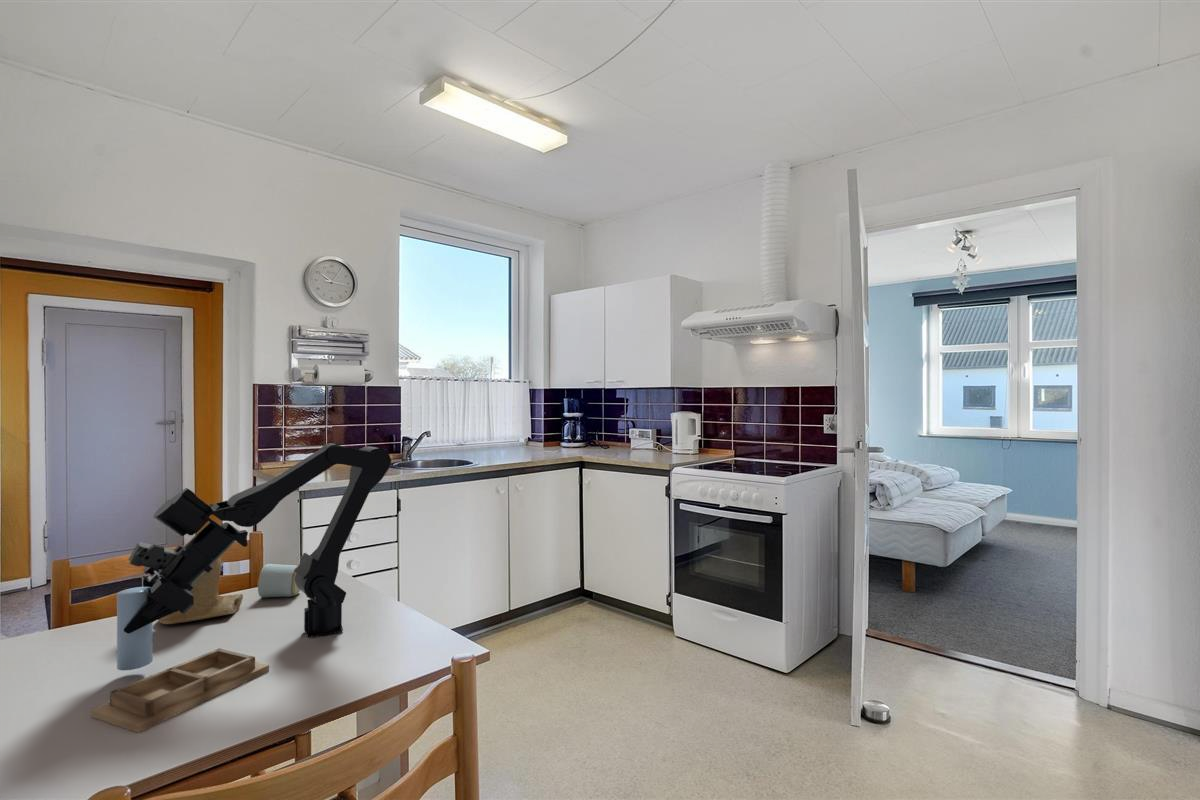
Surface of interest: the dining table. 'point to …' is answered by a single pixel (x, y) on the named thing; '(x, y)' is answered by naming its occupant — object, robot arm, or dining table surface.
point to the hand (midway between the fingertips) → (124, 627)
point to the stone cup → (206, 599)
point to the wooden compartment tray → (177, 689)
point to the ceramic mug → (277, 581)
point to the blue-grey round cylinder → (135, 645)
